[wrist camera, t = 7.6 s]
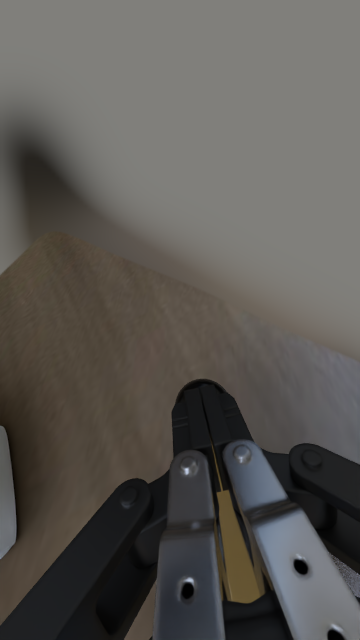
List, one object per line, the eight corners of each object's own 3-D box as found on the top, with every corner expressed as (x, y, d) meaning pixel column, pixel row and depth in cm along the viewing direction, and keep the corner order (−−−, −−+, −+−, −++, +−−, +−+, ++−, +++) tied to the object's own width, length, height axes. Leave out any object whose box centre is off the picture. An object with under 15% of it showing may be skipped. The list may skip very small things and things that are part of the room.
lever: (175, 396, 16) (166, 376, 14) (223, 386, 16) (223, 363, 14) (245, 835, 8) (257, 1000, 5) (347, 813, 8) (410, 968, 5)
